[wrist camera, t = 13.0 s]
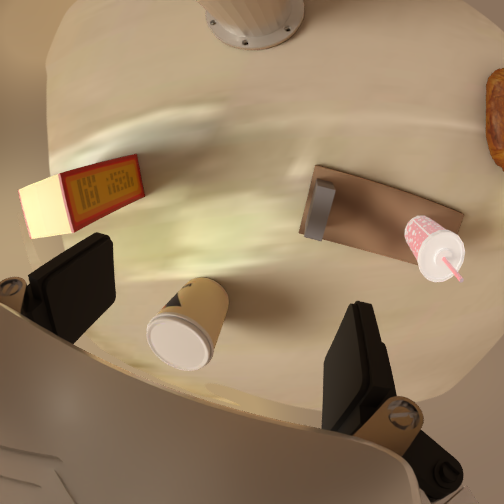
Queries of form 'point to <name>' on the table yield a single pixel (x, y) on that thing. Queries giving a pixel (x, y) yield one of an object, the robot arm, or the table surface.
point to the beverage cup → (435, 249)
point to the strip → (367, 214)
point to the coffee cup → (189, 325)
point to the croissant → (495, 116)
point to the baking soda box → (80, 196)
